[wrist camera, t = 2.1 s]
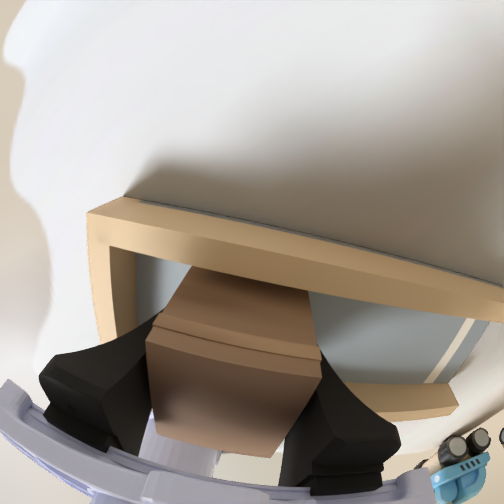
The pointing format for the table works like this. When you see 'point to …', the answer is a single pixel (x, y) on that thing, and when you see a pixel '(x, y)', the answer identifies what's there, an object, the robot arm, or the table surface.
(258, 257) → the bay
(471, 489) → the toy excavator
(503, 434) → the toy fire truck
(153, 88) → the table surface
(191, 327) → the box
